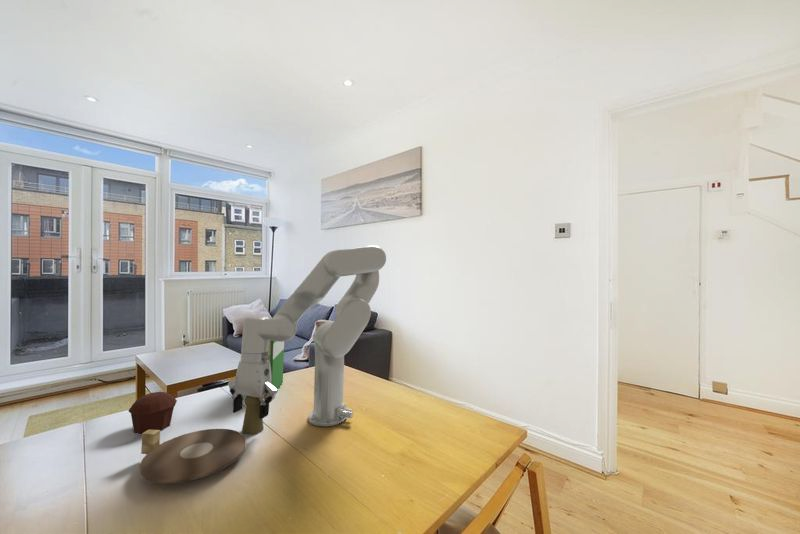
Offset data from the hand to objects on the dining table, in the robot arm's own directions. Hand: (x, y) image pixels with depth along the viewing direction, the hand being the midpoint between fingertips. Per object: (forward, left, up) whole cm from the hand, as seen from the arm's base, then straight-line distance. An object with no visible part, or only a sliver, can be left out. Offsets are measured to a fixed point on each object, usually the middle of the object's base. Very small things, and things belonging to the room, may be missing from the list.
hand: (250, 414), depth 96 cm
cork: (-1, -1, -5) cm, 5 cm away
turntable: (+1, +18, -3) cm, 18 cm away
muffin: (+28, +8, -5) cm, 30 cm away
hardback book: (+16, -28, -5) cm, 33 cm away
